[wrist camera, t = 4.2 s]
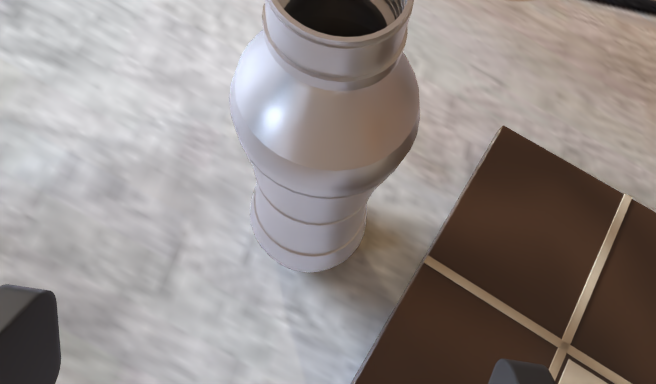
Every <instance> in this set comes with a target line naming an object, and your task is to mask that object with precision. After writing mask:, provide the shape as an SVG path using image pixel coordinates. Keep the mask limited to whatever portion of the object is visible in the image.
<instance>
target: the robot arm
mask: <svg viewBox="0 0 656 384" xmlns="http://www.w3.org/2000/svg"><path fill="white" fill-rule="evenodd" d="M60 364H61V352H60V340H59V327H58V315H57V303H56V298H55V295H54V293H53V292H51V291H48V290H42V289H35V288H29V287H22V286H16V285H9V284H6V285H2V286H0V384H55V382H56V379H57V377H58V373H59V369H60ZM488 384H556V383H555V381H554V379H553V377H552V375H551V373H550V371H549V370H548V368H547V367H546V366H544V365H542V364H535V363H529V362H522V361H516V360H509V359H500V360H498V361H497V363H496V364H495V367H494V369H493V372H492V374H491V377H490V380H489V383H488Z"/></svg>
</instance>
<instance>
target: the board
mask: <svg viewBox="0 0 656 384" xmlns="http://www.w3.org/2000/svg"><path fill="white" fill-rule="evenodd" d="M500 359H509V360H516V361H522V362H529V363H535V364H542V365H544V366H546V367H547V368H548V370H549V371H550V373H551V375H552V377H553V379H554V381H555V383H556V384H656V213H655V212H654V211H652V210H650V209H648V208H647V207H645V206H643V205H641V204H640V203H638V202H636V201H634V200H633V199H632V197H631V196H629V195H627V194H622V193H620V192H619V191H617V190H615V189H613V188H612V187H610V186H608V185H607V184H605V183H603V182H601V181H600V180H598V179H596V178H594V177H593V176H591V175H589V174H587V173H586V172H584V171H582V170H580V169H579V168H577V167H575V166H573V165H572V164H570V163H568V162H566V161H565V160H563V159H561V158H559V157H558V156H556V155H554V154H553V153H551V152H549V151H547V150H546V149H544V148H542V147H540V146H539V145H537V144H535V143H533V142H532V141H530V140H528V139H526V138H525V137H523V136H521V135H519V134H518V133H516V132H514V131H512V130H511V129H509V128H507V127H505V126H502V127H501V128H500V129H499V131H498V132H497V133H496V135H495V136H494V138H493V140H492V141H491V143H490V145H489V147H488V148H487V150H486V152H485V153H484V155H483V157H482V159H481V160H480V162H479V164H478V166H477V167H476V169H475V171H474V172H473V174H472V176H471V178H470V179H469V181H468V183H467V184H466V186H465V188H464V190H463V191H462V193H461V195H460V197H459V198H458V200H457V202H456V203H455V205H454V207H453V209H452V210H451V212H450V214H449V215H448V217H447V219H446V221H445V222H444V224H443V226H442V227H441V229H440V231H439V233H438V234H437V236H436V238H435V240H434V241H433V243H432V245H431V246H430V248H429V250H428V252H427V253H426V255H425V257H424V258H423V260H422V262H421V264H420V265H419V267H418V269H417V271H416V272H415V274H414V276H413V277H412V279H411V281H410V283H409V284H408V286H407V288H406V289H405V291H404V293H403V295H402V296H401V298H400V300H399V301H398V303H397V305H396V307H395V308H394V310H393V312H392V314H391V315H390V317H389V319H388V320H387V322H386V324H385V326H384V327H383V329H382V331H381V332H380V334H379V336H378V338H377V339H376V341H375V343H374V345H373V346H372V348H371V350H370V351H369V353H368V355H367V357H366V358H365V360H364V362H363V363H362V365H361V367H360V369H359V370H358V372H357V374H356V375H355V377H354V379H353V381H352V382H351V384H488V383H489V380H490V377H491V374H492V372H493V369H494V367H495V364H496V363H497V361H498V360H500Z"/></svg>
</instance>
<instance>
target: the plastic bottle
mask: <svg viewBox="0 0 656 384" xmlns="http://www.w3.org/2000/svg"><path fill="white" fill-rule="evenodd" d="M413 2H414V0H265V3H264V6H263V14H262V23H263V30H262V31H260V32H259V33H258V34H257V35H256V36H255V37H254V38H253V39H252V40H251V41H250V42H249V44H248V45H247V47H246V48H245V50H244V52H243V53H242V55H241V57H240V60H239V63H238V65H237V68H236V71H235V74H234V76H233V79H232V82H231V88H230V97H229V102H230V111H231V117H232V120H233V123H234V126H235V129H236V132H237V135H238V138H239V141H240V144H241V145H242V147H243V149H244V151H245V153H246V155H247V157H248V159H249V161H250V163H251V164H252V166H253V169H254V172H255V176H256V180H257V182H256V186H255V189H254V192H253V195H252V200H251V207H250V220H251V226H252V229H253V232H254V235H255V237H256V239H257V240H258V242H259V244H260V246H261V247H262V248H263V249H264V250H265V251H266V252H267V254H268V255H269V256H271V257H272V258H273V259H274V260H276V261H277V262H278V263H280V264H281V265H283V266H285V267H287V268H289V269H293V270H296V271H300V272H319V271H323V270H326V269H329V268H332V267H335V266H336V265H338V264H340V263H342V262H343V261H345V260H346V259H347V258H348V257H350V256H351V255H352V254H353V253H354V251H355V250H356V249H357V247H358V246H359V244H360V242H361V240H362V238H363V235H364V231H365V226H366V219H367V205H366V204H367V201H368V199H369V197H370V196H371V194H372V193H373V191H374V190H375V189H376V188H377V187H378V186H379V185H380V184H381V183H382V182H383V181H384V180H385V179H386V178H387V177H388V176H389V175H390V174H392V173H393V172H394V171H395V169H396V168H397V167H398V165H399V164H400V163H401V161H402V160H403V159H404V157H405V156H406V154H407V153H408V152H409V150H410V149H411V147H412V145H413V142H414V140H415V138H416V135H417V132H418V126H419V121H420V106H419V87H418V84H417V80H416V76H415V73H414V71H413V69H412V67H411V65H410V63H409V61H408V59H407V58H406V56H405V54H404V53H403V50H404V47H405V43H406V38H407V24H408V21H409V18H410V15H411V12H412V7H413Z"/></svg>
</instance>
